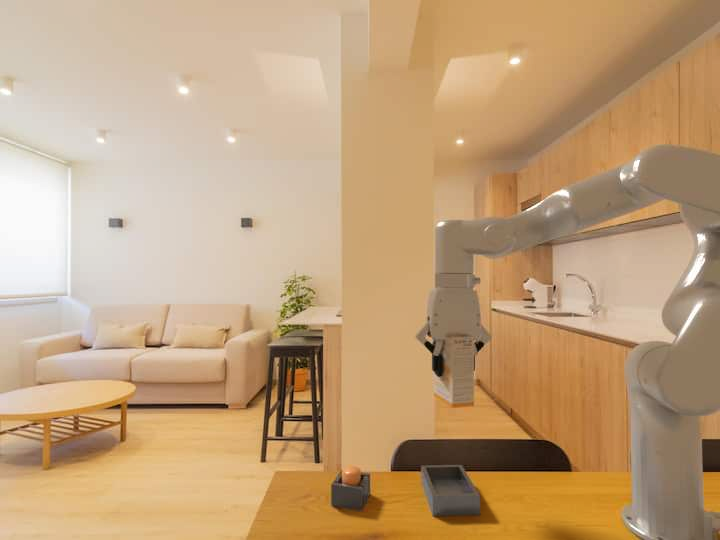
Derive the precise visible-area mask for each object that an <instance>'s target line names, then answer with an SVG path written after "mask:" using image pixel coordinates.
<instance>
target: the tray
mask: <svg viewBox="0 0 720 540" xmlns="http://www.w3.org/2000/svg"><path fill="white" fill-rule="evenodd" d="M420 481H421V482H420V483H421V485H422V489H423V491H424V494H425V497H426V500H427V503H428V506H429V509H430V512H431V515H432V517H451V516H452V517H455V516H457V517H458V516H460V517H462V516H463V517H464V516H481V495H480V493H479V491H478V490H477V488H476V487H475V485H474V483H473V481H472V480H471V477H469V475H468V473H467V471H466V470H465V468H464V467H463V464H444V465H443V464H442V465H440V464H437V465H436V464H435V465H433V464H432V465H429V464H428V465H420Z"/></svg>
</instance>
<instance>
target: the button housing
mask: <svg viewBox="0 0 720 540" xmlns="http://www.w3.org/2000/svg"><path fill="white" fill-rule="evenodd" d="M342 470H343V469H341V470H340V471H339V473H338V474H337V476H336V477H335V478H334V480H333V482H332V483H331V484H330V485H331V486H330V489H331V490H330V491H331V497H330V499H331V500H330V502H331V507H335V508H341V509H347V510H352V511H356V512H357V511H358V512H363V509H364V507H365V505H366V503H367V501H368V499H369V497H371V496H370V495H371V473H370V472H369V473H368V472H362V471H360V475H361V483H360V485H359V486H353V485H347V484H342Z"/></svg>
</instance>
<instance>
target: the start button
mask: <svg viewBox="0 0 720 540" xmlns="http://www.w3.org/2000/svg"><path fill="white" fill-rule="evenodd" d="M341 470H342V484H347V485H353V486H359V485H360V483H361V475H360V472H361V469H360V468H359V467H357V466H352V465H351V466H346V467H344V468H342V469H341Z"/></svg>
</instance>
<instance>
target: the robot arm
mask: <svg viewBox="0 0 720 540" xmlns="http://www.w3.org/2000/svg"><path fill="white" fill-rule="evenodd" d="M664 200H667V201H669V202H670V201H671V202H673V203H676V204H679V214H680V218H681V219H682V222H683V223H684V224H685V226H686V227H687V228H688V230H689V231H690V234H691V235H692V239H693V242H694V248H693V252H692V255H691V258H690V260H689V262H688V264H687V266H686V268H685V270H684V271H683V273H682V275H681V277H680V278H679V280H678V281H677V283H676V285H675V287H674V288H673V290H672V292H670V294H669V296H668V298H667V299H666V301H665V302H664V305H663V306H662V307H663V308H662V310H661V320H662V324H663V325H664V328H666V329H667V331H669V333H671V334H672V335H674V336H675V338H674V340H673V341H672V343H671V342H668V341H667V342H666V341H661V340H649V341H644V342H642V343H639V344H637V345H636V346H634V347H633V348H632V349H631V350H630V352H628V354H627V356H626V359H625V362H624V363H625V364H624V378H625V385H626V390H627V398H628V405H629V423H630V424H629V426H630V460H631V461H630V463H631V465H630V466H631V502H632V503H628V504H626V505H625V506H623V508H622V509H621V520H622V521H623V524H624V525H625V527H627V528H628V529H629V530H630V531H631V532H632V533H633V534H635V535H636V536H637V537H639V538H640V539H642V540H718V537H717V536H716V534H719V533H720V512H718V511H711V510H710V511H709V510H705V508H704V506H705V504H704V477H703V476H704V473H703V472H704V471H703V436H702V435H703V433H702V431H703V430H702V423H701V419H700V417H707V416H710V415H713V414H715V413H717V412H719V411H720V154H719V153H715V152H710V151H706V150H703V149H697V148H693V147H689V146H684V145H677V144H657V145H653V146H650V147H648V148H646V149H644V150H643V151H641V152H639V153H638V154H637V155H636V156H634V157H633V158H632V159H631V160H629V161H628V162H625V163H623V164H621V165H618V166H616V167H613V168H610V169H608V170H606V171H603V172H600V173H598V174H595V175H592V176H590V177H587V178H584V179H583V180H580V181H577V182H575V183H572V184H568V185H567V186H566V185H565V186H564V187H562V188H560V189H558V190H556V191H555V192H552V193H551V194H550V195H549V196H547V197H545V199H543V200H541V201H540V202H538V203H537V204H535V205H533V206H530V207H529V208H526V209H525V210H523V211H521V212H518V213H515V214H514V215H511V216H508V217H506V218H505V217H502V216H488V217H482V218H475V219H469V220H466V219H464V220H463V219H447V220H442V221H439V222H438V223H437V224H436V226H435V227H434V289H430V290H429V295H428V300H427V309H426V318H425V319H426V321H425V324H424V325H423V326H422V327H421V328H420V329H419V331H418V332H417V333H416V334H415V336H414V337H415V339H416V340H417V341H419V342H420V343H421V345H423V346H424V347H425V348H426V349H427V350H428V351H429V352H430V353H431V370H432V372H433V374H434V373H435V374H436V375H437V376H438V377H441V376H442V356H440V350H441V348H442V345H443V342H444V341H446V340H447V337H451V336H470V337H474V372H475V370H476V356H477V355H478V354H479V352H480V351H481V350H482V348H484V346H485V345H486V344H488V342H490V341H491V340H492V339H493V337H492V335H491V334H490V333H489V331H488V330H487V329H486V328H485V327H484V326H483V324H482V318H481V316H482V315H481V307H480V302H479V296H478V291H477V290H474V288H475V286H476V285H480V284H481V278H480V277H477V276H475V274H474V268H475V266H474V256H475V255H479V256H483V257H485V258H487V259H490V260H491V259H492V260H497V259H500V258H504V257H506V256H509V255H512V254H515V253H517V252H521V251H523V250H526V249H529V248H531V247H535V246H538V245H540V244H543V243H545V242H548V241H552V240H555V239H558V238H564V237H566V236H570V235H572V234H575V233H578V232H581V231H584V230H586V229H589V228H591V227H595V226H597V225H600V224H602V223H606V222H610V221H611V220H614V219H616V218H620V217H623V216H625V215H626V216H627V215H629V214H631V213H634V212H637V211H639V210H640V211H641V210H643V209H645V208H648V207H650V206H654V205H655V204H658V203H660V202H662V201H664ZM426 336H427V337H429V338H431V339H432V340H433V341H432V342H431V341H429V340H428V339H427V338H426Z"/></svg>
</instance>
